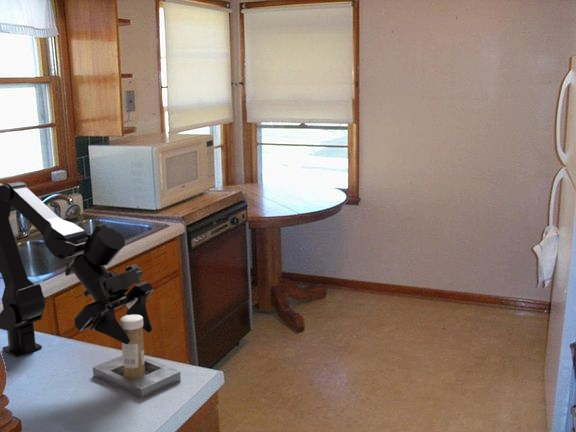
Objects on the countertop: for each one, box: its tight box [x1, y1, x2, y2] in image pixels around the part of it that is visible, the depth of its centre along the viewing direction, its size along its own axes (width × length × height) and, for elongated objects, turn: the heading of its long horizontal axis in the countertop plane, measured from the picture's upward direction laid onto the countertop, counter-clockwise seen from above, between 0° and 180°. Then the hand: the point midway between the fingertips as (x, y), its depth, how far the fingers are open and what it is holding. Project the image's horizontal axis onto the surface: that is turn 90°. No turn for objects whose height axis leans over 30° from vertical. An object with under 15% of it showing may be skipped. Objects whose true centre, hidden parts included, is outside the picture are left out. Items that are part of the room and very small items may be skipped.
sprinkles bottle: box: [119, 314, 146, 381], centre depth 125 cm, size 5×5×14 cm
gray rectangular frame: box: [92, 354, 182, 400], centre depth 126 cm, size 16×10×2 cm, turn 52°
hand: (139, 337), depth 124 cm, fingers open, 7 cm apart
